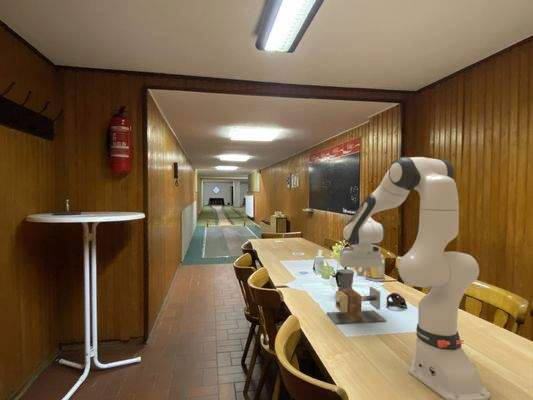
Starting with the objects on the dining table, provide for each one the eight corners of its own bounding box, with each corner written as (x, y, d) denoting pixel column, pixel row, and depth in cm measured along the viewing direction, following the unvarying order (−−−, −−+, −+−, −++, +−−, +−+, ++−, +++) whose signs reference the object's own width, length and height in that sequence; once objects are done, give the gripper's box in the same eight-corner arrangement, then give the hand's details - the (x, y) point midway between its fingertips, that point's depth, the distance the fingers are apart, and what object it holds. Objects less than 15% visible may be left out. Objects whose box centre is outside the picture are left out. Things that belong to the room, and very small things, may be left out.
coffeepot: (345, 293, 179) (345, 262, 179) (359, 297, 172) (359, 265, 172) (328, 299, 169) (328, 266, 169) (342, 303, 162) (342, 269, 162)
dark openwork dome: (411, 312, 152) (405, 298, 151) (393, 318, 154) (387, 306, 152) (402, 298, 164) (396, 285, 162) (385, 304, 166) (380, 292, 164)
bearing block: (373, 311, 151) (374, 287, 151) (386, 321, 139) (386, 295, 139) (326, 314, 148) (326, 289, 148) (335, 324, 136) (335, 297, 136)
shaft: (371, 303, 148) (372, 287, 148) (380, 309, 140) (380, 292, 140) (333, 305, 146) (333, 288, 146) (339, 311, 138) (339, 293, 138)
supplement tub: (362, 277, 214) (362, 253, 214) (376, 276, 218) (377, 252, 217) (373, 282, 202) (373, 257, 202) (388, 281, 206) (388, 256, 206)
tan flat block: (341, 306, 146) (341, 291, 146) (347, 312, 139) (347, 296, 139) (335, 306, 146) (335, 291, 146) (341, 312, 138) (341, 296, 138)
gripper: (342, 248, 141) (342, 278, 142) (384, 248, 144) (383, 277, 144) (337, 246, 148) (337, 274, 148) (377, 245, 150) (377, 273, 151)
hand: (360, 275), depth 146 cm, fingers closed
